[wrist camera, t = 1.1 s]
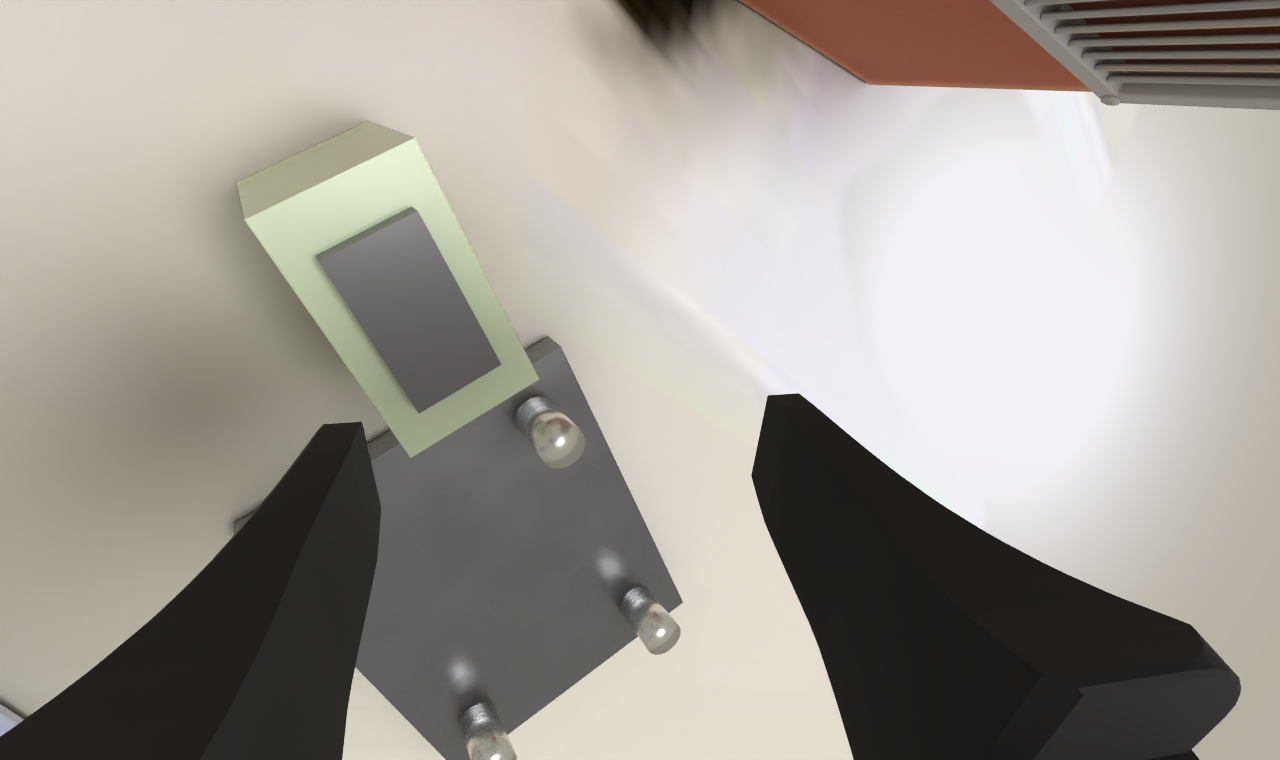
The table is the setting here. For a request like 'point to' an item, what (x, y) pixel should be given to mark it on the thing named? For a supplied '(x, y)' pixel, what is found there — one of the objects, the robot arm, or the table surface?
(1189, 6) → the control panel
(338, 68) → the table surface
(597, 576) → the chassis
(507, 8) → the table surface
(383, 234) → the block
